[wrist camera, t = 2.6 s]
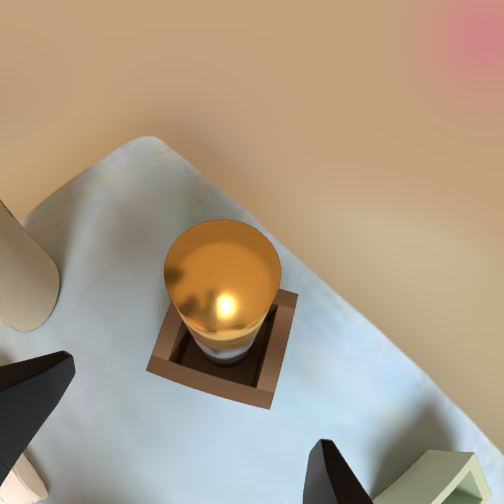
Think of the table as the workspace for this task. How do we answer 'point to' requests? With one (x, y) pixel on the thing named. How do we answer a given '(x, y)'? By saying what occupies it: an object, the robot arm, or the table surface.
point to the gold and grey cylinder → (223, 286)
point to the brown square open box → (235, 378)
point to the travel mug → (24, 277)
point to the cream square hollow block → (439, 481)
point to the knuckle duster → (22, 484)
